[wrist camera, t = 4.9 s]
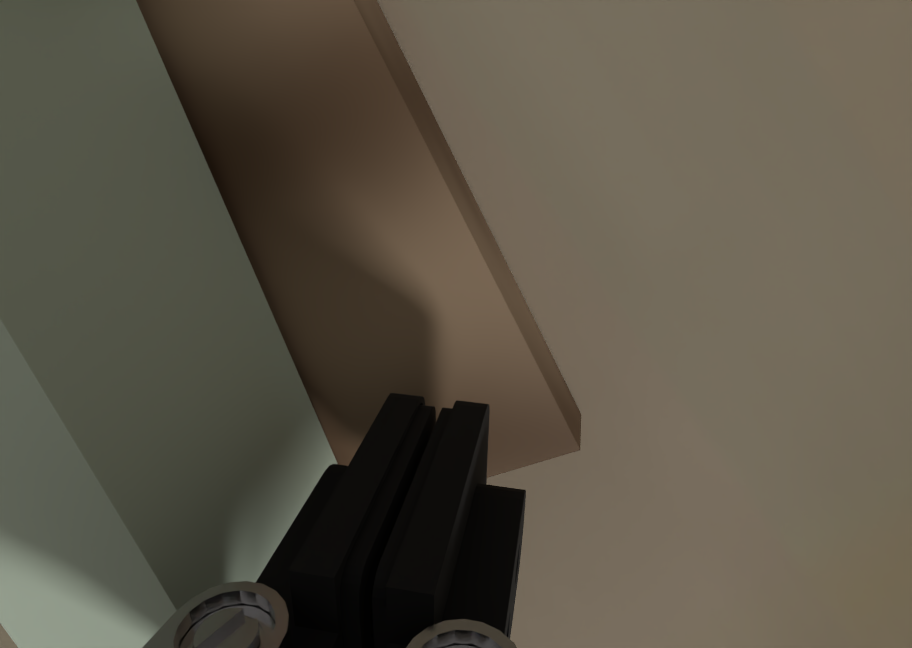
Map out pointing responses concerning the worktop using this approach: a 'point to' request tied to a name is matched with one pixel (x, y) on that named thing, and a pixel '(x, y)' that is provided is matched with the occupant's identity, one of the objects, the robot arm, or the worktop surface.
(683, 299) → the worktop surface
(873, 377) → the worktop surface
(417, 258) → the stool seat
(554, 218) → the worktop surface
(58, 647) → the leg
